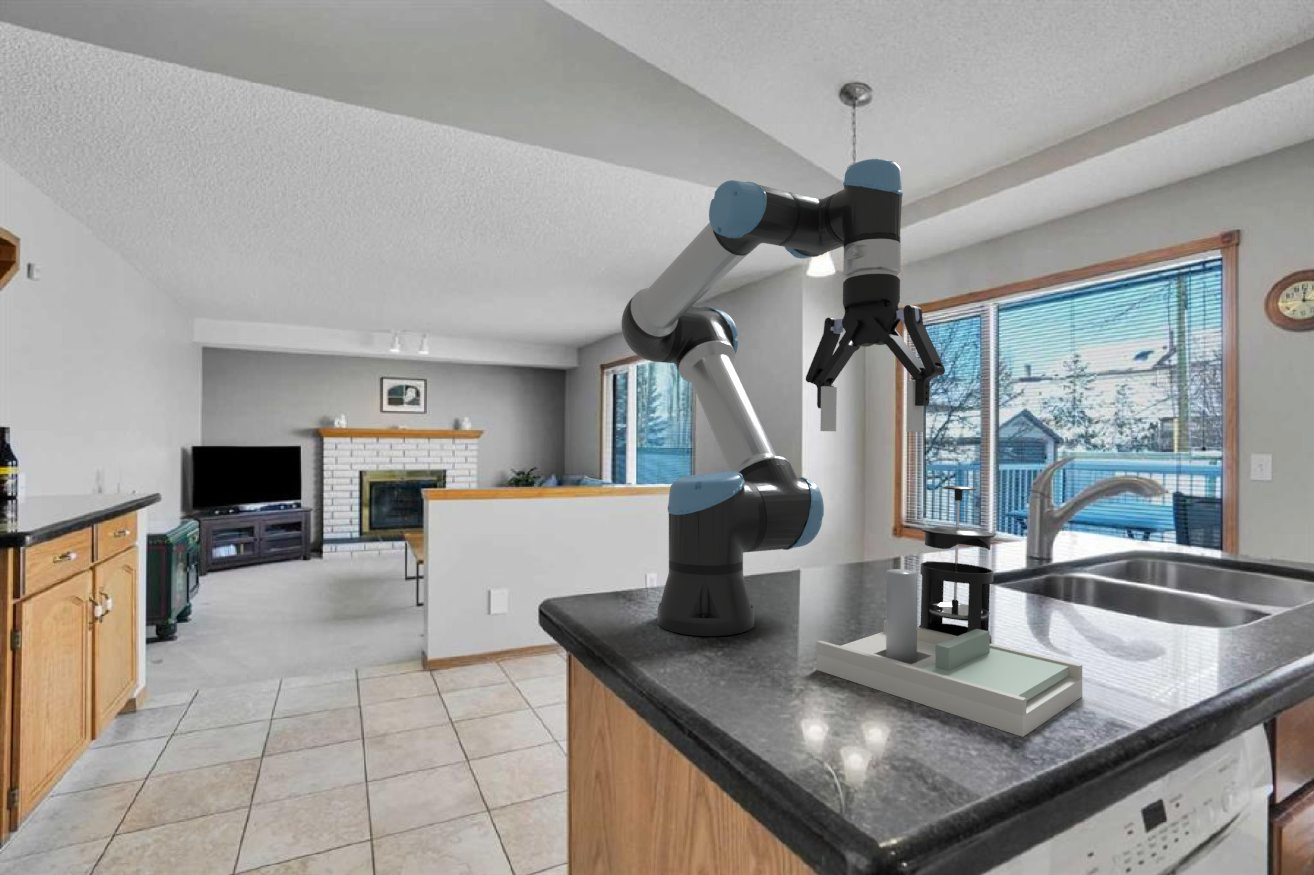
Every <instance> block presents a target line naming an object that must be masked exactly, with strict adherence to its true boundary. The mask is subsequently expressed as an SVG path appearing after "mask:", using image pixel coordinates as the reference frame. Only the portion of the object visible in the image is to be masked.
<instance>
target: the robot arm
mask: <svg viewBox="0 0 1314 875" xmlns="http://www.w3.org/2000/svg"><path fill="white" fill-rule="evenodd" d="M842 185H843V189H841V190H839V191H837V192H836V193H833V194H831V195H829V196H825V197H824V198H816V197H812V196H808V195H802V194H799V193H794V192H790V191H784V190H780V189H777V188H774V187H773V188H772V187H769V186H765V185H762V184H759V183H756V182H753V181H740V180H734V179H732V180H726V181H725V182H723V183H721V184H720V185H719V186H718V187H717V189H716V190H715V191H714V197H713V198H712V199H711V200H710V204H709V210H708V220H709V222H708V223H707V225H706V226H705V227H703V228H702V230H701V231H700V232H699V233H698V234H697V235H696V237H694V238H693V240H692V241H690V243H689V244H688V245H687V246H686V247H685V248H684V249H683V250H682V251H681V253H680V254H678V256H677V257H676V258H675V259H674V260H673V261H672V262H671V263H670V264H669V266H668V267H667V268H666V269H665V270H664V271H663V272H662V273H661V274H660V275H659V276H658V278H657V279H655V281H654V282H653V283H652V284H650V286H649V287H646V288H643V289H642V288H641V289H640V290H639V291H637V292H636V293H635V294H634V295H633V296H632V297H631V299H630V300H629V301H627V304H626V306H625V307H624V310H623V313H622V317H621V332H622V335H623V338H624V340H625V343H626V344H627V346H628V347H629V348H630V350H631V351H632V352H633V353H634V354H635V355H637V356H638V357H640V358H642V359H644V360H645V361H650V362H656V363H665V364H666V363H667V364H675V367H676V369H677V371H678V373H679V375H680V377H681V379H683V380H684V381H686V382H688V383H691V384H692V386H693V390H694V391H695V394H696V396H697V398H698V400H699V402H700V405H701V408H702V409H703V412H704V415H705V417H706V420H707V421H708V424H709V426H710V428H711V431H712V433H713V436H714V438H715V440H716V442H717V445H718V447H719V450H720V451H721V455H722V457H723V459H724V461H725V464H726V466H727V468H728V471H718V472H704V473H699V474H697V473H696V474H692V475H687V476H682V477H680V478H678V479H676V480H674V481H673V482H672V483H671V485H670V488H669V493H668V494H669V495H668V504H667V512H668V574H667V578H666V581H665V584H664V588H663V591H662V597H661V600H660V603H658V606H657V611H656V613H657V616H656V617H657V618H656V620H657V625H658V626H660V627H661V628H662V629H663V630H666V631H669V632H672V633H677V634H681V635H686V636H687V635H689V636H696V637H697V636H698V637H699V636H701V637H719V636H720V637H722V636H730V635H731V636H732V635H736V634H741V633H745V632H748V631H750V630H752V629H753V628H754V626H755V608H754V606H753V604H752V603H751V599H750V595H749V590H748V587H747V584H746V580H745V577H744V554H745V553H750V552H751V553H754V552H766V551H778V550H783V551H784V550H785V551H788V550H791V549H793V548H801V547H805V546H807V545H808V544H810V543H811V542H813V541H814V540H815V538H816V537H817V536H818V534H819V532H820V530H821V527H822V525H823V517H824V514H825V505H824V499H823V494H822V492H821V490H820V488H819V486H818V485H817V484H816V483H815V482H814V481H813V480H811V479H808V478H806V477H804V476H803V477H797V475H796V472H795V470H794V468H793V466H792V465H791V463H790V461H789V460H788V459H787V458H785V457H783V456H777V453H776V452H775V450H774V448H773V446H772V444H771V441H770V439H769V437H768V435H767V433H766V431H765V429H764V427H763V425H762V423H761V421H760V419H759V417H758V415H757V413H756V410H755V409H754V406H753V404H752V402H751V400H750V398H749V396H748V394H747V392H746V390H745V388H744V385H743V383H742V381H741V379H740V378H739V377H740V376H739V375H738V373H737V371H736V369H735V367H734V365H733V364H734V361H735V360H736V359H735V358H736V354H737V353H738V352H737V351H738V346H739V340H738V339H737V337H738V335H739V334H738V329H737V326H736V324H735V321H734V320H733V318H732V317H731V316H730V315H729V314H728V313H727V312H725V311H723V310H721V309H715V308H713V307H711V306H710V307H709V306H700V307H699V306H694V305H695V304H696V303H697V302H698V301H699V300H700V299H702V297H703V296H704V295H705V294H707V293H708V292H709V291H710V290H711V289H712V288H713V287H714V286H715V285H717V284H718V282H720V281H721V279H723V278H724V277H725V276H726V275H727V274H728V273H729V272H731V271H732V270H733V269H734V268H735V267H736V266H737V265H738V264H739V263H740V262H742V260H744V259H745V258H746V257H747V256H748V255H749V254H751V253H752V252H753V251H754V250H755V249H756V248H757V247H758V246H759V245H762V244H767V245H773V246H778V247H783V248H784V249H785V251H787V252H788V253H790V255H792V256H793V257H794V258H796V259H809V258H815V257H816V258H817V257H819V256H822V255H824V254H826V253H828V252H832V251H834V250H837V249H840V248H842V247H843V268H842V270H843V272H842V273H843V277H844V278H845V280H844V281H843V283H842V306H843V309H844V315H843V318H832V317H826V318H825V319H824V324H823V333H822V336H821V338H820V341H819V343H818V346H817V348H816V351H815V353H814V356H813V357H812V361H811V363H810V365H809V368H808V371H807V373H806V376H805V381H806V383H810V384H813V385H815V386H816V388H817V390H816V391H817V392H816V406H817V408H818V409H820V432H837V402H838V401H837V397H838V395H837V394H838V392H837V390H838V387H837V386H835V385H834V382H835V380H837V378H838V377H839V375H840V374H841V372H842V370H843V369H844V368H845V366H846V365H847V364H848V362H849V360H850V359H851V358H852V356H853V355H854V353H855V352H857V351H858V350H859V349H860V348H861V347H862V348H865V347H866V348H867V347H871V346H873V345H876V346H887V348H889V350H890V351H891V353H892V354H893V355H894V357H896V359H897V360H898V361H899V363H901V365H902V366H903V367H904V369H905V370H906V371H907V372H908V374H910V376H911V378H910V379H911V380H909V381H908V380H907V381H906V384H907V385H906V391H907V392H906V433H924V407H928V406H929V404H930V391H931V390H930V383H931V380H933V379H934V378H937V377H939V376H940V377H941V376H944V374H945V373H946V368H945V366H944V364H943V362H942V360H941V358H940V356H939V354H938V352H937V349H936V348H935V345H934V343H933V341H932V339H931V337H930V335H929V333H928V331H927V329H926V327H925V325H924V320H923V311H922V310H923V309H922V308H921V307H919V306H914V305H909V304H907V305H904V308H901V309H900V308H899V304H900V302H901V279H900V278H899V277H898V275H899V274H900V273H901V254H902V253H901V248H902V244H901V227H902V226H901V224H902V223H901V220H902V204H903V202H902V201H903V200H902V199H903V194H904V192H903V191H902V187H903V186H902V172H901V168H900V166H899V164H897V162H895V161H893V160H889V159H886V158H870V159H864V160H861V161H857V162H855V163H853V164H851V165H850V166H849V167H848V169H846V171H845V172H844V179H843V184H842ZM900 322H901V323H902V324H903V325H904V326H905V329H906V331H907V333H908V335H909V337H910V339H911V342H912V344H913V346H914V348H915V350H916V352H917V354H918V356H919V358H918V357H917V356H916V354H915V353H914V352H913V350H912V349H911V347H909V346H908V345H907V343H906V342H905V341H904V338H903V336H901V334H900V333H899V332H898V330H897V327H898V325H899V323H900ZM844 332H845V333H844ZM842 333H844V334H843V336H841V334H842ZM840 337H841V338H840ZM837 345H838V347H837Z"/></svg>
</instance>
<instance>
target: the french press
mask: <svg viewBox="0 0 1314 875" xmlns="http://www.w3.org/2000/svg"><path fill="white" fill-rule="evenodd" d="M941 489H943V490H951V491H952V490H954V501H956V515H955V516H956V518H955V523H956V524H955V526H944V525H943V526H935V527H934V526H933V527H931V526H930V527H922V528H921V532H923V533H924V546H927V547H930V548H936V549H941V550H947V549H948V550H949V549H952V548H953V547H954V548H955V550H954V552H955V553H954V562H950V561H948V562H947V561H934V560H931V561H930V560H929V561H928V560H927V561H925V562H921V563H920V575H921V590H920V591H921V595H920V597H921V600H920V621H919V622H920V623H919V626H918V627H920V628H924V629H929V630H933V631H937V632H942V633H946V634H950V635H955V636H959V635H962V634H965V633H967V632H970V631H972V630H975V629H980V630H985V631H989V626H990V624H989V622H990V614H991V613H990V593H991V592H990V591H991V588H990V587H991V584H992V583H993V582H994V570H992V569H991V568H988V567H984V566H980V565H974V564H969V563H968V564H967V563H960V562H959V545H964V546H972V547H978V548H983V549H986V550H988V551H991V543H992V542H991V541H992V540H991V539H992V538H995V535H996V534H995V533H992V532H987V531H982V530H980V529H979V530H978V529H975V528H970V527H961V526H960V508H961V506H960V503H961V502H962V501H963V492H964V491H977V489H976V488H973V487H971V486H966V485H965V486H964V485H945V486H942V487H941ZM960 501H961V502H960ZM945 582H949V583H953V584H954V585H953V599H952V600H951V602H950V601H949V602H948V601H944V586H945V584H944V583H945ZM958 584H968V604H965V603H959V600H958ZM943 619H948V620H956V621H965V622H967V626H966V625H961V624H954V623H947V622H945V623H943ZM990 644H992V636H991V635H990Z"/></svg>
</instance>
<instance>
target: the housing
mask: <svg viewBox="0 0 1314 875" xmlns="http://www.w3.org/2000/svg"><path fill="white" fill-rule="evenodd" d="M954 637H957V636H955V635H950V634H946V633H942V632H937V631H933V630H929V629H924V628H920V627H919V626H917V662H916V663H913V664H908V663H905V662H901V661H898V660H894V659H890V658H887V657H886V619H885V620H883V631H881V632H878V633H875V634H873V635H870V636H866V637H864V638H860V639H857V640H854V641H851V642H848V643H845V644H842V645H838V644H834V643H832V642H827V641H825V640H817V641H816V646H815V648H816V655H815V656H816V657H815V658H816V659H815V660H816V664H815V665H816V667H815V668H816V671H819V672H822V673H825V674H827V675H828V674H829V675H831V676H835V677H837V678H841V679H843V680H847V681H849V682H852V683H856V684H859V685H862V686H865V687H868V688H870V689H874V690H877V691H880V692H884V693H886V694H889V695H893V696H896V697H899V698H902V699H906V700H908V701H912V702H914V703H917V704H920V705H924V706H927V707H929V708H932V709H936V710H939V711H943V712H945V713H947V714H951V715H955V716H958V717H961V718H963V719H967V720H969V721H973V722H975V723H976V722H977V723H978V724H982V725H985V726H989V727H991V728H995V729H997V730H1001V731H1004V732H1007V733H1009V734H1012V735H1016V736H1019V737H1022V738H1024V737H1026V736H1027V735H1028V734H1030V733H1031V732H1032V731H1034V730H1035V729H1037V728H1039V727H1040V726H1042V724H1044V723H1045V722H1047V721H1049V720H1050V719H1051V718H1052V717H1054V716H1056V715H1057V714H1059V713H1061V711H1063V710H1065V709H1066V708H1068V707H1069V706H1070V705H1072V704H1073V703H1075V702H1076V701H1078V700H1079V699H1080V698H1082V697H1083V664H1080V663H1076V662H1071V661H1067V660H1063V659H1058V658H1056V657H1050V656H1045V655H1042V654H1036V653H1032V652H1029V651H1024V650H1020V649H1014V648H1011V647H1008V646H1007V647H1006V646H1002V645H997V644H993V643H991V644H990V648H992V649H996V650H1000V651H1004V652H1009V653H1013V654H1017V655H1021V656H1026V657H1030V658H1034V659H1038V660H1043V661H1047V662H1051V663H1055V664H1060V665H1064V666H1068V671H1069V676H1067V677H1065V678H1064V679H1062V680H1060V681H1059V682H1057V683H1055V684H1054V685H1052V686H1050V687H1049V688H1047V689H1045V690H1044V691H1042V692H1041V693H1039V694H1037V695H1036V696H1034V697H1032V698H1031V699H1029V700H1027V701H1026V698H1024V697H1020V696H1017V695H1013V694H1010V693H1006V692H1002V691H999V690H995V689H992V688H988V687H985V686H981V685H978V684H974V683H970V682H967V681H963V680H960V679H956V678H953V677H949V676H946V675H942V674H938V673H935V672H931V671H928V670H924V669H922V668H924V667H927V666H929V665H932V664H934V663H935V645H936V644H939V643H941V642H944V641H946V640H949V639H952V638H954Z"/></svg>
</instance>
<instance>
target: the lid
mask: <svg viewBox="0 0 1314 875" xmlns="http://www.w3.org/2000/svg"><path fill="white" fill-rule="evenodd" d="M990 632H991V631H989V630H988V631H985V630H980V629H975V630H972V631H970V632H967V633H965V634H962V635H959V636H957V637H954V638H952V639H949V640H946V641H944V642H941V643H939V644H936V645H935V663H934V664H932V665H929V666H927V667H924V668H922V669H924V670H928V671H931V672H935V673H938V674H942V675H946V676H949V677H953V678H956V679H960V680H963V681H967V682H970V683H974V684H978V685H981V686H985V687H988V688H992V689H995V690H999V691H1002V692H1006V693H1010V694H1013V695H1017V696H1020V697H1024V698H1026V701H1027V700H1029V699H1031V698H1032V697H1034V696H1036V695H1037V694H1039V693H1041V692H1042V691H1044V690H1045V689H1047V688H1049V687H1050V686H1052V685H1054V684H1055V683H1057V682H1059V681H1060V680H1062V679H1064V678H1065V677H1067V676H1069V671H1068V666H1064V665H1060V664H1055V663H1051V662H1047V661H1043V660H1038V659H1034V658H1030V657H1026V656H1021V655H1017V654H1013V653H1009V652H1004V651H1000V650H996V649H992V648H990V636H991V634H990Z"/></svg>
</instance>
